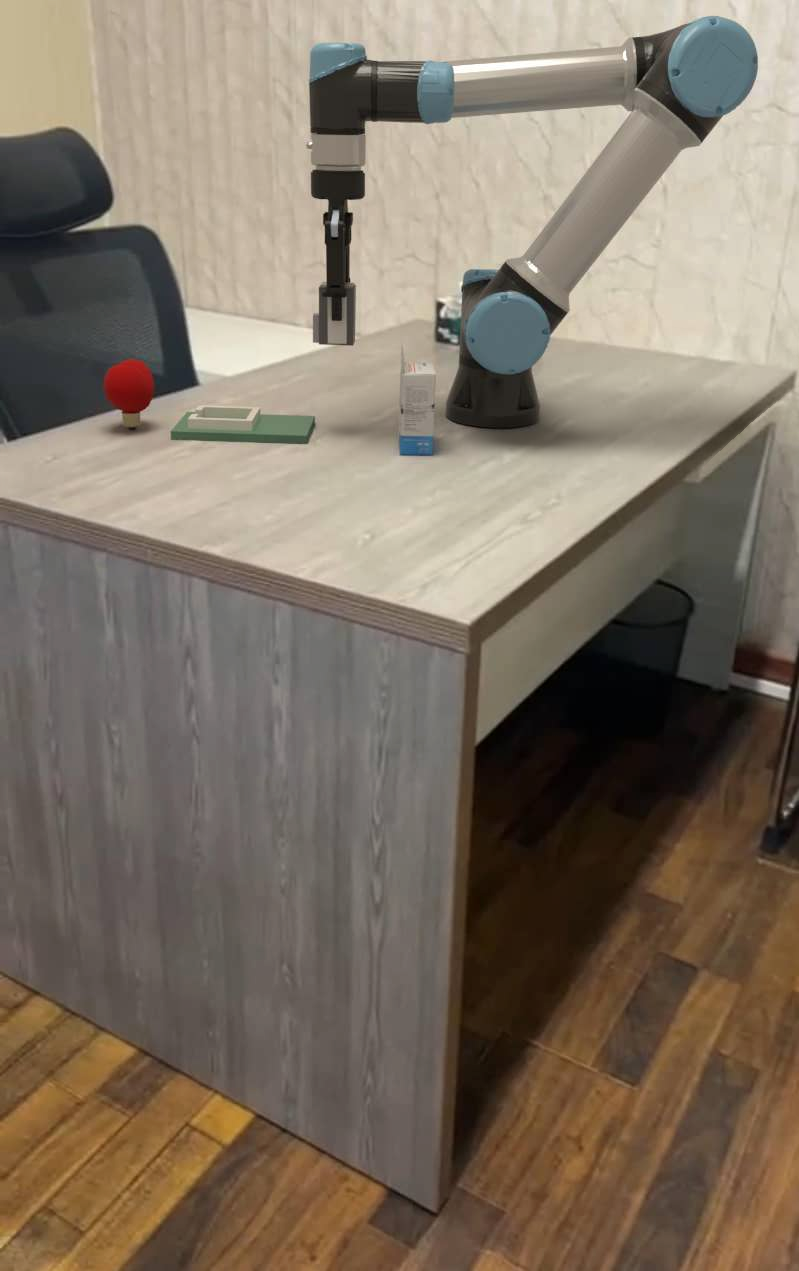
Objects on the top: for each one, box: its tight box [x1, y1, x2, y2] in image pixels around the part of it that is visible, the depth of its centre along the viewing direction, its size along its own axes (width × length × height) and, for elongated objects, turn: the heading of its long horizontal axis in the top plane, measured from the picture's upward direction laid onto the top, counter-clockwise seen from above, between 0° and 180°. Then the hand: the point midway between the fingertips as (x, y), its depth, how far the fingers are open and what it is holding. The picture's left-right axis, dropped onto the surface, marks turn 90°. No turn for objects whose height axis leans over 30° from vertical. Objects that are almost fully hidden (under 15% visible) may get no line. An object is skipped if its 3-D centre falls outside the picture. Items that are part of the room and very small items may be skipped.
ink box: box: [397, 341, 437, 456], centre depth 167 cm, size 8×5×15 cm, turn 2°
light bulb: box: [103, 359, 155, 431], centre depth 174 cm, size 9×7×10 cm
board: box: [170, 404, 316, 445], centre depth 176 cm, size 20×12×3 cm, turn 88°
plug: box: [312, 281, 357, 347], centre depth 168 cm, size 6×4×8 cm, turn 88°
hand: (338, 339), depth 170 cm, fingers closed on plug, 4 cm apart
